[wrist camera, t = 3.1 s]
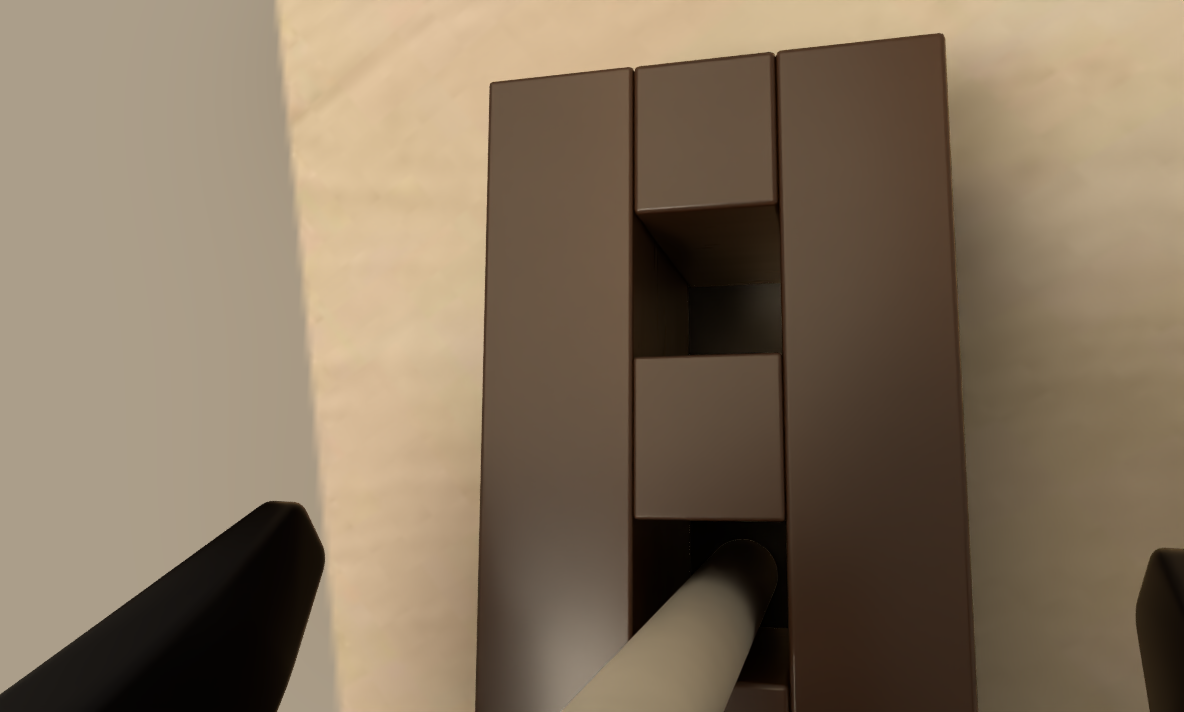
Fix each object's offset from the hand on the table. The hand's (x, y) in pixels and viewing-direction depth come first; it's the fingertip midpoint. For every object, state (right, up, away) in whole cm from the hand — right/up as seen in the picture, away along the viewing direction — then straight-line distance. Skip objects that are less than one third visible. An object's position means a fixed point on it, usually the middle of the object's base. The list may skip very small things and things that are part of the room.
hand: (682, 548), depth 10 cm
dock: (+2, -2, +7) cm, 7 cm away
